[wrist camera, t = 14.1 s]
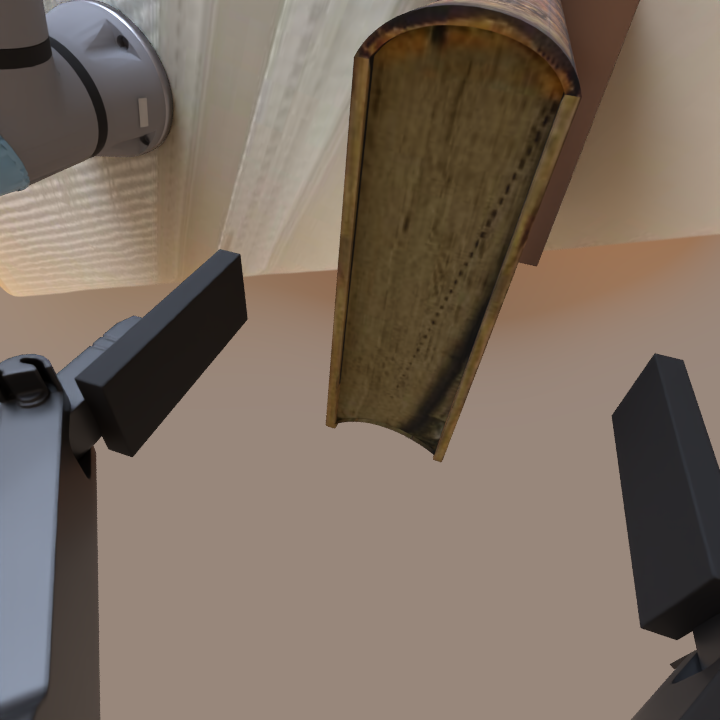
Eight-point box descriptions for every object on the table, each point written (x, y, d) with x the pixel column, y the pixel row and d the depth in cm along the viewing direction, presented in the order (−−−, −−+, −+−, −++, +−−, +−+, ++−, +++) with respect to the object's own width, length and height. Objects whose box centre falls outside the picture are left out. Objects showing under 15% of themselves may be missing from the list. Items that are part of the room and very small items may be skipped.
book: (480, -31, 28) (358, -12, 10) (571, -18, 27) (609, 27, 10) (427, 218, 39) (324, 434, 22) (490, 232, 39) (438, 471, 21)
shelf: (427, 188, 50) (401, 236, 41) (471, -60, 36) (447, -65, 28) (539, 211, 48) (536, 266, 39) (630, -44, 34) (656, -44, 26)
